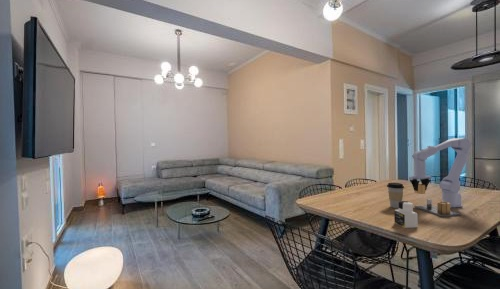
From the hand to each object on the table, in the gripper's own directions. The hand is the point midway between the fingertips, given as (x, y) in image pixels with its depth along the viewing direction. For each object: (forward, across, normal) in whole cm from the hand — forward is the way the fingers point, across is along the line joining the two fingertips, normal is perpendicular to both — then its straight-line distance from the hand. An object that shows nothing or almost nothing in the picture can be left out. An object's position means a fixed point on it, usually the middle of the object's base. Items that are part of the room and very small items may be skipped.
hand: (420, 190), depth 150 cm
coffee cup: (+10, +18, 0) cm, 20 cm away
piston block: (+10, +1, +12) cm, 16 cm away
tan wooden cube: (+2, 0, 0) cm, 2 cm away
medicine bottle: (+10, +36, +28) cm, 47 cm away
